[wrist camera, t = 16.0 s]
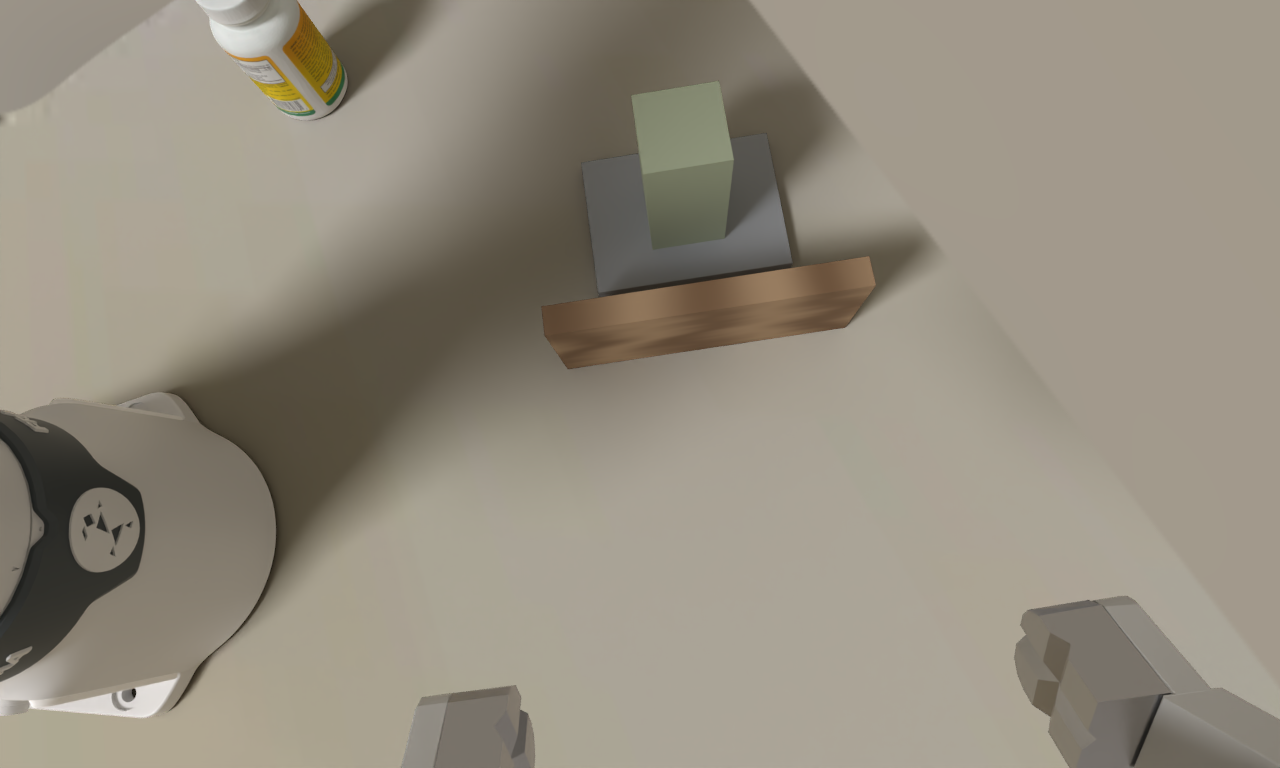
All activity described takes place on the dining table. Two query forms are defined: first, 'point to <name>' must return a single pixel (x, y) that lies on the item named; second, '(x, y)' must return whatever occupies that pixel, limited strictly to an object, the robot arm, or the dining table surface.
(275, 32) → the supplement bottle
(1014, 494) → the dining table surface
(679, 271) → the display mat
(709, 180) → the olive letter block
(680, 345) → the walnut screen
